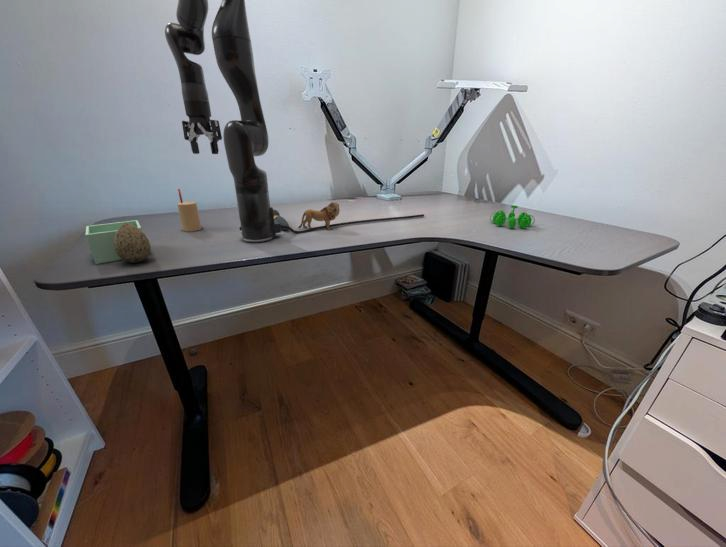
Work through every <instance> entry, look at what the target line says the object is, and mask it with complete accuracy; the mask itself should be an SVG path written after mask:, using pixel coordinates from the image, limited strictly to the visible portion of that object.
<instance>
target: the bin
mask: <svg viewBox="0 0 726 547" xmlns="http://www.w3.org/2000/svg"><path fill="white" fill-rule="evenodd" d="M124 223H129V224H132V225H133V226H135V227H137V228H138V229H140V230H141V231H142V232H143V229H142V226H141V224H140V223H139V219H136V220H127V221H118V222H110V223H102V224H93V225H86V227H85V233H84V236H85V238H86V241H87V245H88V246H89V250H90V252H91V253H90V254H91V255H92V258H93V260H94V264H95V265H99V264H104V263H105V264H106V263H110V262H117V261H123V259H121V258H120V257H119V256H118V254H117V253H116V251H115V248H114V237H115V234H116V232H117V230H118V229H119V227H120V226H121V225H122V224H124Z"/></svg>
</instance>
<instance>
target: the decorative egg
mask: <svg viewBox="0 0 726 547" xmlns="http://www.w3.org/2000/svg"><path fill="white" fill-rule="evenodd" d="M114 248H115V251H116V253H117V254H118V256H119V257H120V258H121V259H122V261H124V262H127V263H130V264H139V263H141V262H144V261H145V260H146V259H147V258H148V257H149V256H150V253H151V242H150V239H149V238H148V237H147V235H146V234H145V232H143V230H142V231H141V230H140V229H138V228H137V227H135V226H133V225H132V224H129V223H124V224H122V225H121V226H120V227H119V229H118V230H117V232H116V234H115V237H114Z"/></svg>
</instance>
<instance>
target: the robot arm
mask: <svg viewBox="0 0 726 547" xmlns="http://www.w3.org/2000/svg"><path fill="white" fill-rule="evenodd" d="M176 6H177V7H176V13H175V14H176V15H175V16H176V20H177V22H178V23H177V22H176V23H175V22H168V23H167V24H166V25H165V28H164V37H165V41H166V43H167V45H168V47H169V49H170V51H171V52H170V53H171V54H172V56H173V59H174V61H175V63H176V66H177V70H178V75H179V79H180V80H179V81H180V84H181V85H180V86H181V95H182V101H183V106H184V111H185V115H186V116H187V117H188V120H182V121H181V124H182V126H181V127H182V131H183V139H184V140H185V141H188V142H189V144H190V148H191V152H192V154H194V155H199V154H200V148H199V143H198V140H199V137H201V136H203V135H204V136H205V137H206V138H208V140H209V144H210V152H211V155H219V144H218V143H219V141H222V140H223V145H224V150H225V155H226V159H227V160H226V161H227V164H228V169H229V171H230V173H231V175H232V179H233V184H234V190H235V197H236V203H237V204H236V205H237V210H238V218H239V223H240V226H238V228H239V231H241V236H242V237H241V239H242V241H243V242H247V243H265V242H269V241H271V240H273V239H277V234H279V233H282V229H281V228H286V229H288V230H289V231H290V232H291V233H293V234H305V233H309V232H312V231H316V230H322V229H323V230H324V229H327V225H326V226H325V225H321V226H315V227H311V228H310V229H309V228H307V229H303V230H295V229H293V228H292V227H291V226H290V225H289V226H284V225H280V223H279V222H277V221H276V220H274V214H273V209H274V208H273V207H272V206H271V201H270V193H269V184H268V183H269V182H268V175H267V172H266V170H264V169H261V168H260V167H259V166H257V164H256V161H255V157H261V156H264V155H265V154H266V152H267V151H268V149H269V143H270V142H269V132H268V128H267V123H266V119H265V116H264V112H263V108H262V103H261V98H260V93H259V87H258V81H257V80H258V79H257V75H256V68H255V59H254V50H253V46H252V39H251V34H250V28H249V21H248V15H247V14H248V13H247V7H246V0H221V2H220V5H219V8H218V10H217V12H216V14H215V17H214V20H213V23H212V26H211V40H212V45H213V51H214V55H215V59H216V64H217V67H218V69H219V72H220V73H221V75H222V77H223V79H224V80H225V82H226V84H227V86H228V88H229V89H230V91H231V93H232V94H233V96H234V98H235V101H236V103H237V107H238V111H239V114H240V119H233V120H229V121H228V122H226V124H225V125H224V128H223V136H222V131H221V125H220V122H219V120H217V119H211V117H212V111H211V105H210V99H209V98H210V97H209V93H208V90H207V85H206V80H205V72H204V68H203V66H202V65H201V64H200V63H198V62H194V61H192V60H190V59H189V58H188V57H187V55H186V54H188V55H192V56H193V55H194V56H201V55H202V54H203V53H204V52H205V50H206V41H205V24H206V21H207V17H208V14H209V8H210V7H209V6H210V5H209V0H177V5H176ZM422 217H425V214H424V213H423V214H422V213H421V214H414V215H404V216H394V217H384V218H381V217H380V218H371V219H363V220H362V219H361V220H354V221H353V220H352V221H346V222H339V223H332V224H331V223H330V225H329V227H330V228H333V227H341V226H347V225H355V224H363V223H372V222H373V223H374V222H383V221H394V220H404V219H414V218H415V219H416V218H422Z"/></svg>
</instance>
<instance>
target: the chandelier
mask: <svg viewBox="0 0 726 547" xmlns="http://www.w3.org/2000/svg"><path fill="white" fill-rule="evenodd" d="M510 208H513V210H511V211H510V212H509V213H508V216H507V214H506V212H505V210H498V211H494V212H492V214H491V215H490V216H489V220H490V222H491V223H492V224H495V225H496V226H497V227H502V226H504V225H505V223H506V221H508V224H507V226H508V227H509V228H510V229H513V228H515V227H516V223H517V222H518V223H517V224H518V227H519V228H520V229H523V230H525V229H527V228H528V227H532V226H533V225H534V224H535V222H536V219H535V217H534V216H533V215H532V214H528V213H527V212H526V211H523V212H520V214H519V215H518V217H517V218H516V217H515V216H516V213H515V209H518V208H519V206H518V205H510ZM492 216H493V217H492ZM532 218H533V222H532Z"/></svg>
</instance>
